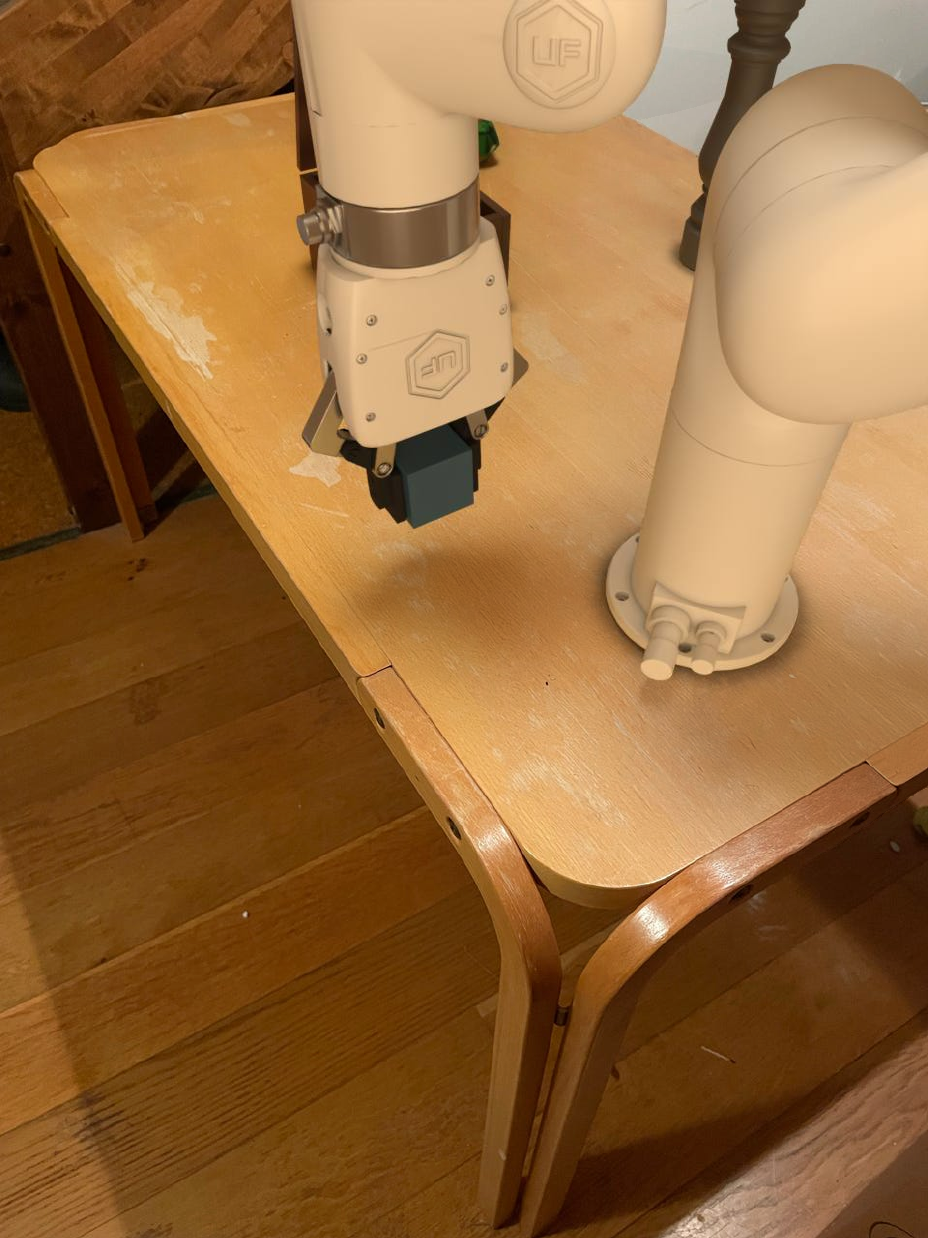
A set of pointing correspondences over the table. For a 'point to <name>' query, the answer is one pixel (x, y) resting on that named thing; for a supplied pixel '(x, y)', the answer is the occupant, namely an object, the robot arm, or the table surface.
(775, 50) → the candle holder
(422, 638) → the table surface
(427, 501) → the block
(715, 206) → the robot arm
